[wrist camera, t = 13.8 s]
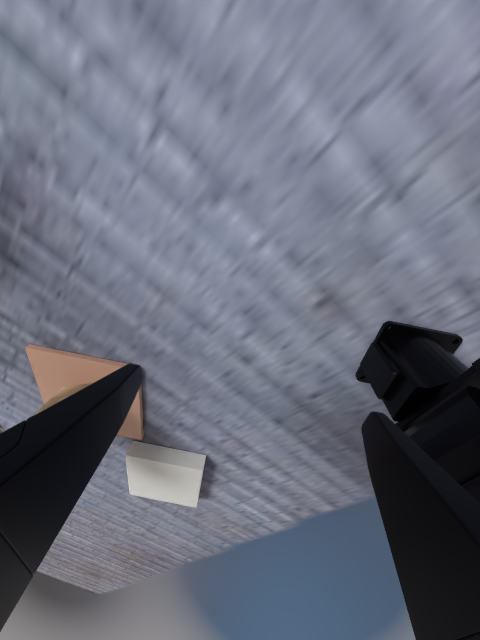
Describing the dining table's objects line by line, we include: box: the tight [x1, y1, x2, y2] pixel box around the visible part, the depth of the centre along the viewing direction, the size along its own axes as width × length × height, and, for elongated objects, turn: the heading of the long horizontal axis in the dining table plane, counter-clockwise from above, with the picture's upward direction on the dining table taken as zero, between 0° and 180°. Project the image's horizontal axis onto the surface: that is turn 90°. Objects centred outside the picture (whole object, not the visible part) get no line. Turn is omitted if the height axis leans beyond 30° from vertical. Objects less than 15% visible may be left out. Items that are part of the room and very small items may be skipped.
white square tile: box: [125, 441, 206, 507], centre depth 33 cm, size 10×10×2 cm
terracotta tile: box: [25, 344, 144, 440], centre depth 28 cm, size 12×12×1 cm
